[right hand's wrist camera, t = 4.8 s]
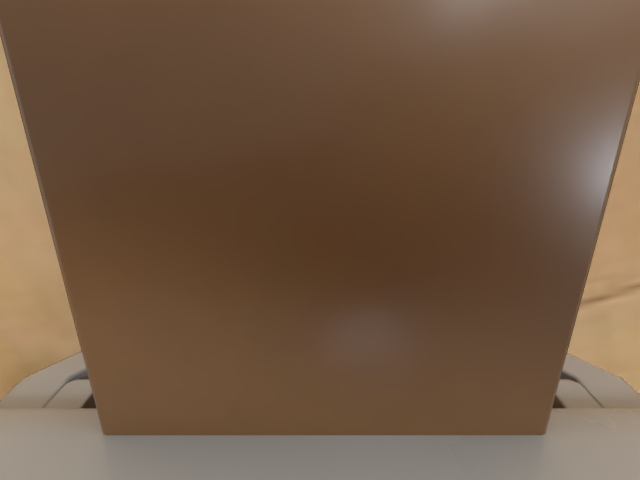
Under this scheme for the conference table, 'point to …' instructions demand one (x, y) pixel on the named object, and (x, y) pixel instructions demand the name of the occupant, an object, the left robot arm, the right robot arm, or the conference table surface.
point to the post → (324, 203)
